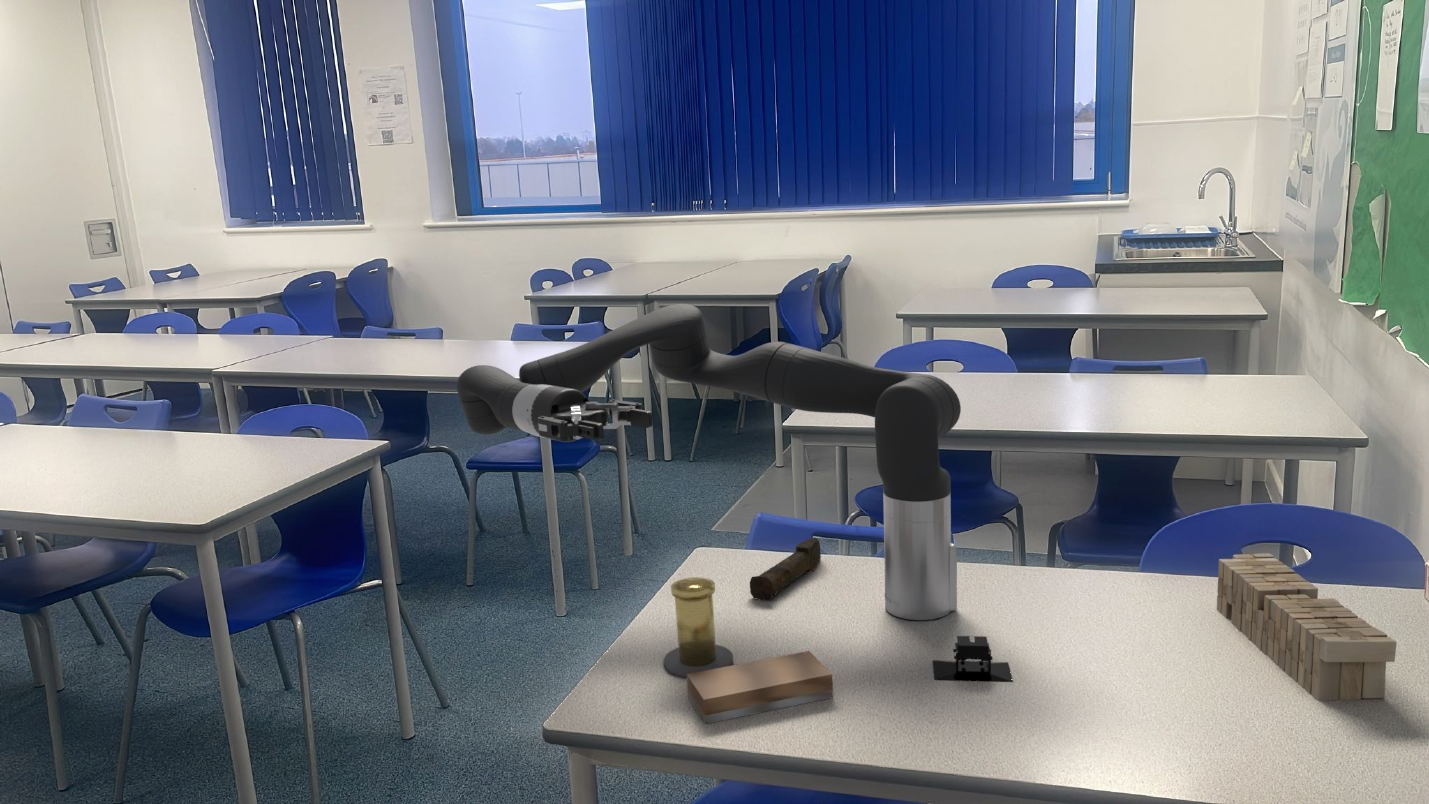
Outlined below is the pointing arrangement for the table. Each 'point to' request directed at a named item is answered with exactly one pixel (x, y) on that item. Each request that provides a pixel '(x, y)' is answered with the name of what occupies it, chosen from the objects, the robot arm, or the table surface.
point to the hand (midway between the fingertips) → (626, 426)
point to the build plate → (972, 663)
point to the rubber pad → (681, 670)
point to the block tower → (1303, 629)
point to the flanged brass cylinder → (695, 620)
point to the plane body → (759, 686)
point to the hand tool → (786, 570)
